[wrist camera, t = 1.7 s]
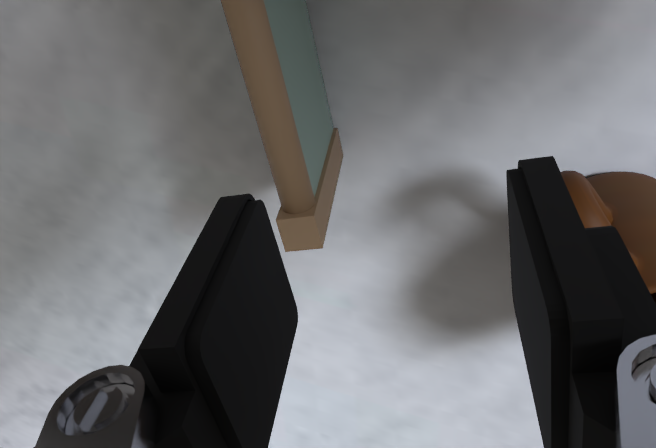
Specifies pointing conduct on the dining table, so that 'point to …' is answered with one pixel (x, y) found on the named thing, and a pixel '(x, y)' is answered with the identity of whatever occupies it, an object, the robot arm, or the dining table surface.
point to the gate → (289, 112)
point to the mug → (621, 212)
